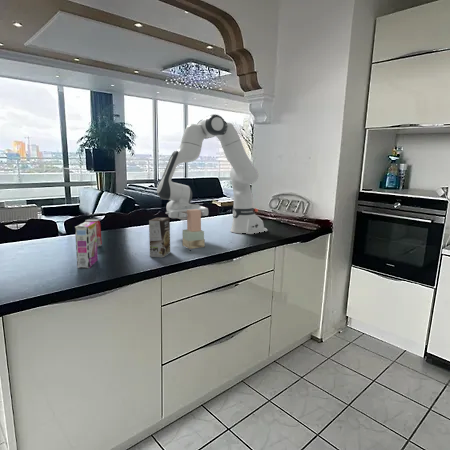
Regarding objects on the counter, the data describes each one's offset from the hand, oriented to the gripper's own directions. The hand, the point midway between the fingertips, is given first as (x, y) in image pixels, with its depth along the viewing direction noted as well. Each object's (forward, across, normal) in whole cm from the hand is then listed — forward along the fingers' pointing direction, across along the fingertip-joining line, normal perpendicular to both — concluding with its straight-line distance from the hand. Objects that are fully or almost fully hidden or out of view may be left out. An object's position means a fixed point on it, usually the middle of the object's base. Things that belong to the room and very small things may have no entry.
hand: (195, 214), depth 161 cm
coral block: (-1, 0, +8) cm, 8 cm away
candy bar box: (+6, -50, +16) cm, 53 cm away
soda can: (-23, -43, +16) cm, 51 cm away
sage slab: (-1, -1, +12) cm, 12 cm away
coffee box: (+6, -20, +16) cm, 26 cm away
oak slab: (-1, -1, +16) cm, 16 cm away
